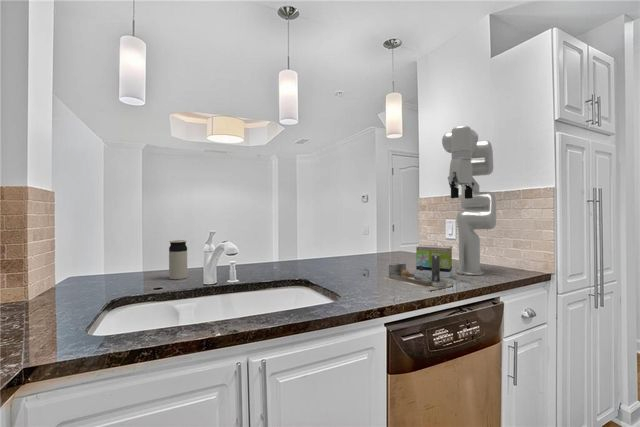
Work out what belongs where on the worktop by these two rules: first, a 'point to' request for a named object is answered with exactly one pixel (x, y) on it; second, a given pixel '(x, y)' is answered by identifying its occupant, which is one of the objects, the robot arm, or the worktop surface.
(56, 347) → the worktop surface
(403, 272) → the walnut
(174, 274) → the travel mug
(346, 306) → the worktop surface
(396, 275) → the press bed
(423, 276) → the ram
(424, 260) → the tea box
